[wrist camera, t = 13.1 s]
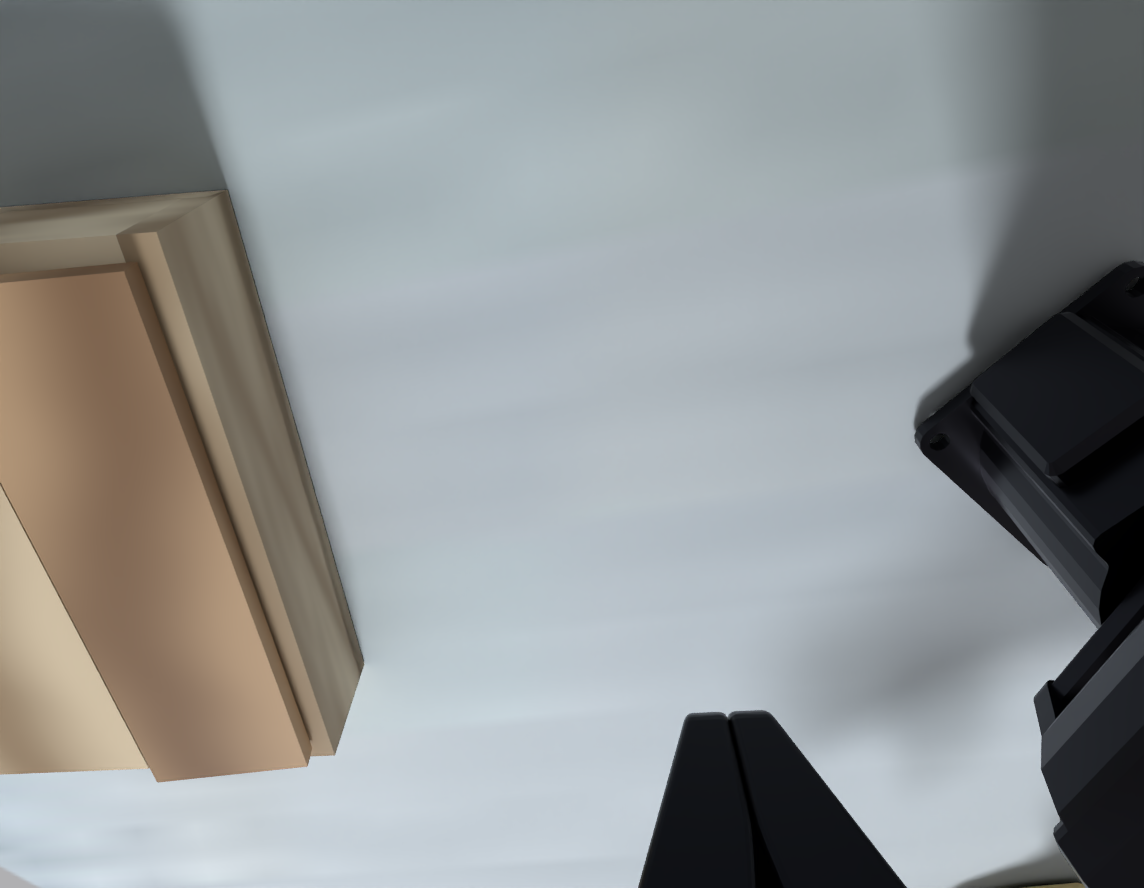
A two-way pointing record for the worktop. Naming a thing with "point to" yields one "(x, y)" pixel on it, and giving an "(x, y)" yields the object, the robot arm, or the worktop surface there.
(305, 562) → the plywood box
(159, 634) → the flap
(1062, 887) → the toy
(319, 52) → the worktop surface
